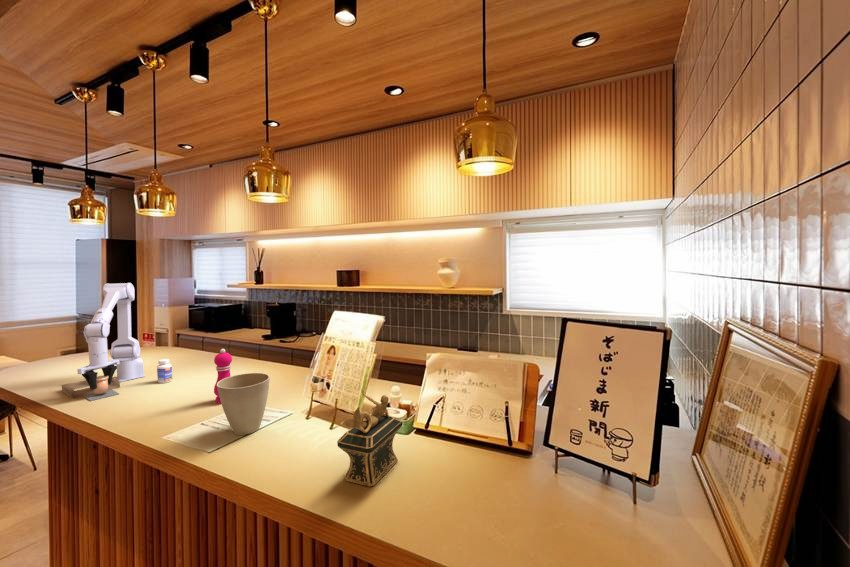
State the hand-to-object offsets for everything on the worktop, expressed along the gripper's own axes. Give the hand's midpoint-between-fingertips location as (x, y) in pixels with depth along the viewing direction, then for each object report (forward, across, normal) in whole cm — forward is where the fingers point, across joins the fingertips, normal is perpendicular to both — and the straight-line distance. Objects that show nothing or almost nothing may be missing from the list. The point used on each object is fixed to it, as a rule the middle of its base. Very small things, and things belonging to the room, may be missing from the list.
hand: (100, 386), depth 153 cm
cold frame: (+4, -5, -12) cm, 14 cm away
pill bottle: (+4, -20, +10) cm, 22 cm away
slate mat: (+4, 0, 0) cm, 4 cm away
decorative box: (+4, +32, +126) cm, 130 cm away
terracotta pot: (+2, 0, 0) cm, 2 cm away
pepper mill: (+4, -4, +54) cm, 55 cm away
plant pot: (+4, +16, +80) cm, 81 cm away
